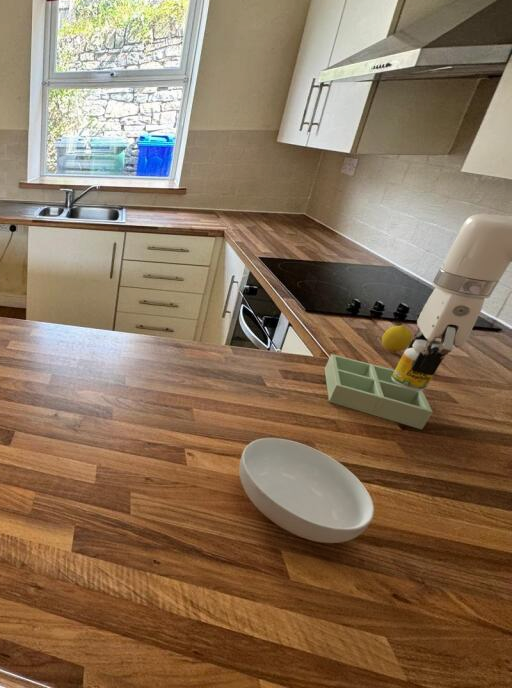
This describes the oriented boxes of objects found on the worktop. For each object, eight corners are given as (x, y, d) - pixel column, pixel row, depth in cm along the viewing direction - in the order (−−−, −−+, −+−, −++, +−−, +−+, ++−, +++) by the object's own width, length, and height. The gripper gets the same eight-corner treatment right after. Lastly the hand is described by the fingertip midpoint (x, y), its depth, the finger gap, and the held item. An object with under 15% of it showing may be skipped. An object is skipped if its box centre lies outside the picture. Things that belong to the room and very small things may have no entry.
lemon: (386, 355, 107) (399, 329, 104) (372, 345, 112) (384, 320, 109) (409, 358, 107) (423, 331, 103) (394, 347, 111) (407, 322, 108)
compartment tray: (405, 391, 93) (414, 374, 91) (422, 429, 82) (432, 412, 80) (324, 369, 101) (331, 353, 99) (328, 401, 89) (336, 385, 87)
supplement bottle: (416, 379, 85) (439, 340, 81) (430, 394, 81) (454, 353, 76) (385, 373, 87) (405, 335, 83) (397, 388, 82) (419, 348, 78)
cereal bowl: (213, 464, 72) (223, 434, 69) (306, 468, 72) (321, 438, 69) (267, 558, 57) (283, 525, 54) (385, 563, 57) (408, 530, 54)
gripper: (512, 304, 66) (456, 393, 73) (476, 273, 79) (431, 352, 86) (449, 293, 69) (402, 379, 77) (424, 266, 82) (386, 342, 90)
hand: (418, 364), depth 82 cm, fingers closed on supplement bottle, 5 cm apart
